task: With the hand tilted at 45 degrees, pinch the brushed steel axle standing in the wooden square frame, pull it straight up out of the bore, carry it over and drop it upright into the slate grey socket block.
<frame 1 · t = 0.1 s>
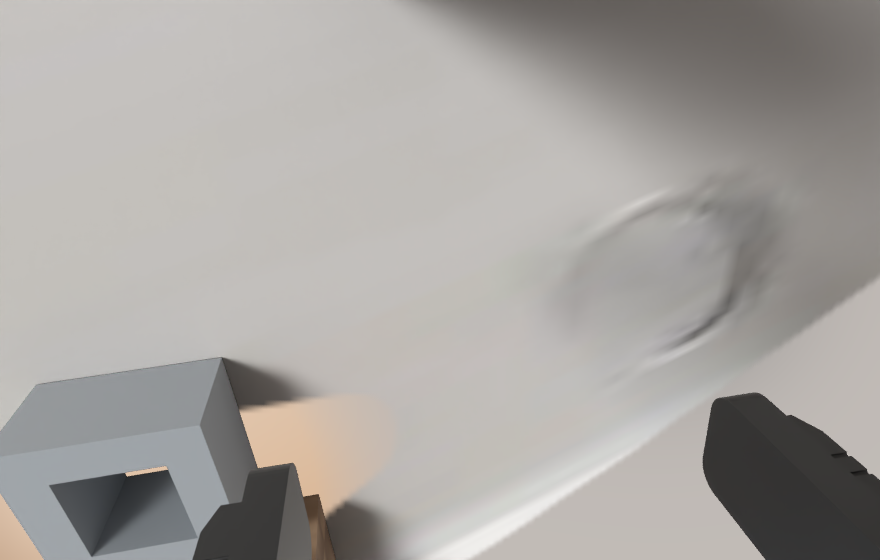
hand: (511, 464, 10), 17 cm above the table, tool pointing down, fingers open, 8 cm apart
socket block: (158, 436, 30), on the table
wooden square frame: (260, 554, 36), on the table
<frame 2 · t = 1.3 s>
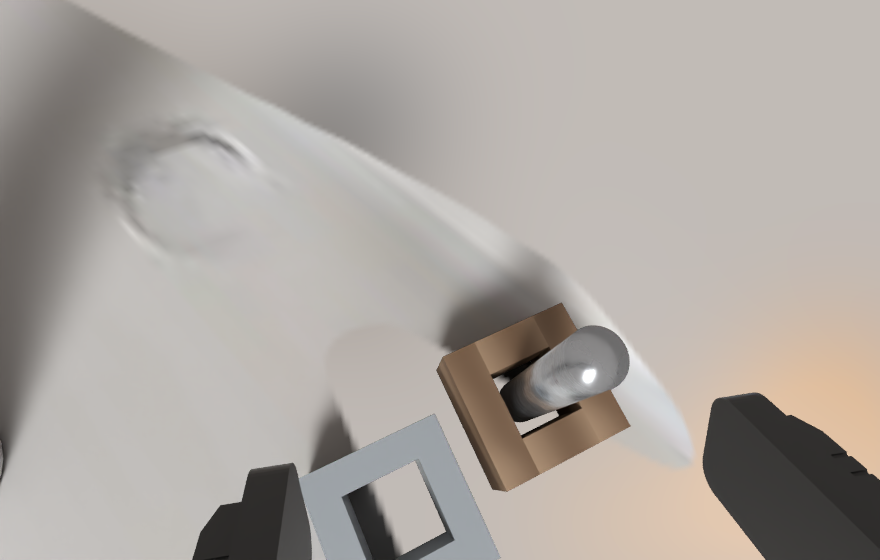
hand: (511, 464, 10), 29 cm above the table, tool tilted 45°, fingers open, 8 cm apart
socket block: (396, 512, 37), on the table
wooden square frame: (518, 400, 40), on the table
steel axle: (548, 384, 33), in the wooden square frame
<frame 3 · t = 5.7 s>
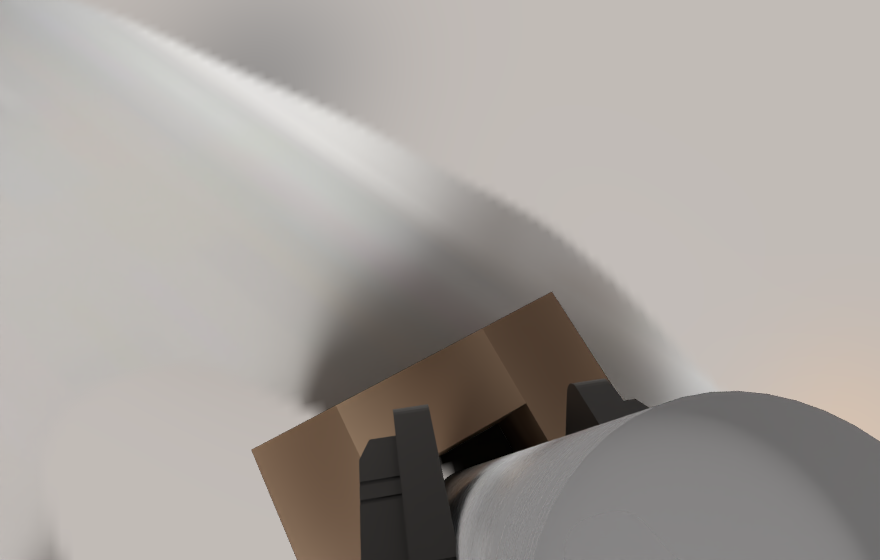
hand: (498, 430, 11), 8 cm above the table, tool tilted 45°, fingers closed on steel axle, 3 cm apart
wooden square frame: (474, 516, 18), on the table
steel axle: (520, 537, 11), in the wooden square frame, touching gripper
when the fingers open (9 cm above the table, at t = 12.1 s): steel axle drops 1 cm, resting in socket block.
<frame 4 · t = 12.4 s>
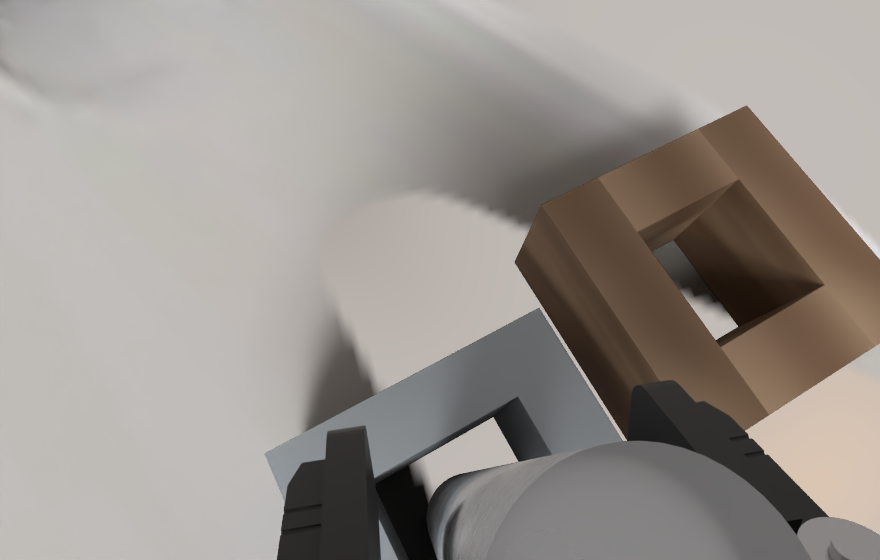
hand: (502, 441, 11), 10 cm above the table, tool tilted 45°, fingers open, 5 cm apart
socket block: (468, 514, 20), on the table
wooden square frame: (664, 305, 23), on the table
steel axle: (504, 539, 12), in the socket block
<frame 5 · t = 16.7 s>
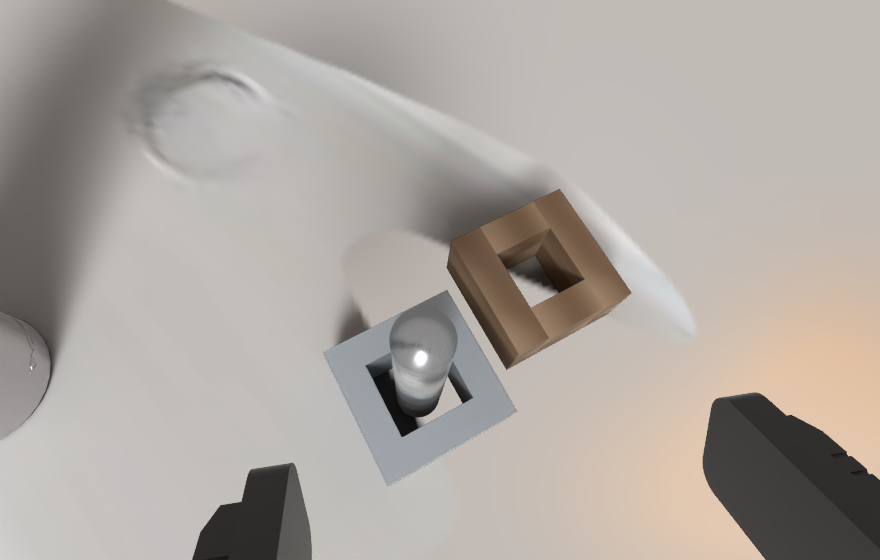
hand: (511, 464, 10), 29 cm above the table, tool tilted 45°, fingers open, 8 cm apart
socket block: (417, 394, 39), on the table
wooden square frame: (526, 290, 42), on the table
steel axle: (420, 374, 32), in the socket block
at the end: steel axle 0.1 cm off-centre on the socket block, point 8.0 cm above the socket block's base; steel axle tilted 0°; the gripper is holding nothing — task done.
